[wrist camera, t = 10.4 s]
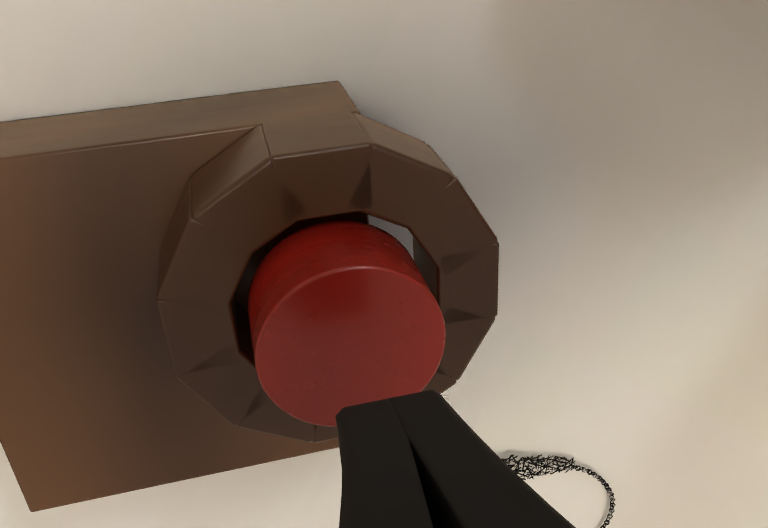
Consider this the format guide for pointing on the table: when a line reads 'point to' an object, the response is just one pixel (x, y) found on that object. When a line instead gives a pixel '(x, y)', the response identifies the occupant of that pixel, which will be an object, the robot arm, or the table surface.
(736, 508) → the table surface
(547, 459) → the necklace
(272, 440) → the button block
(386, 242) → the button
